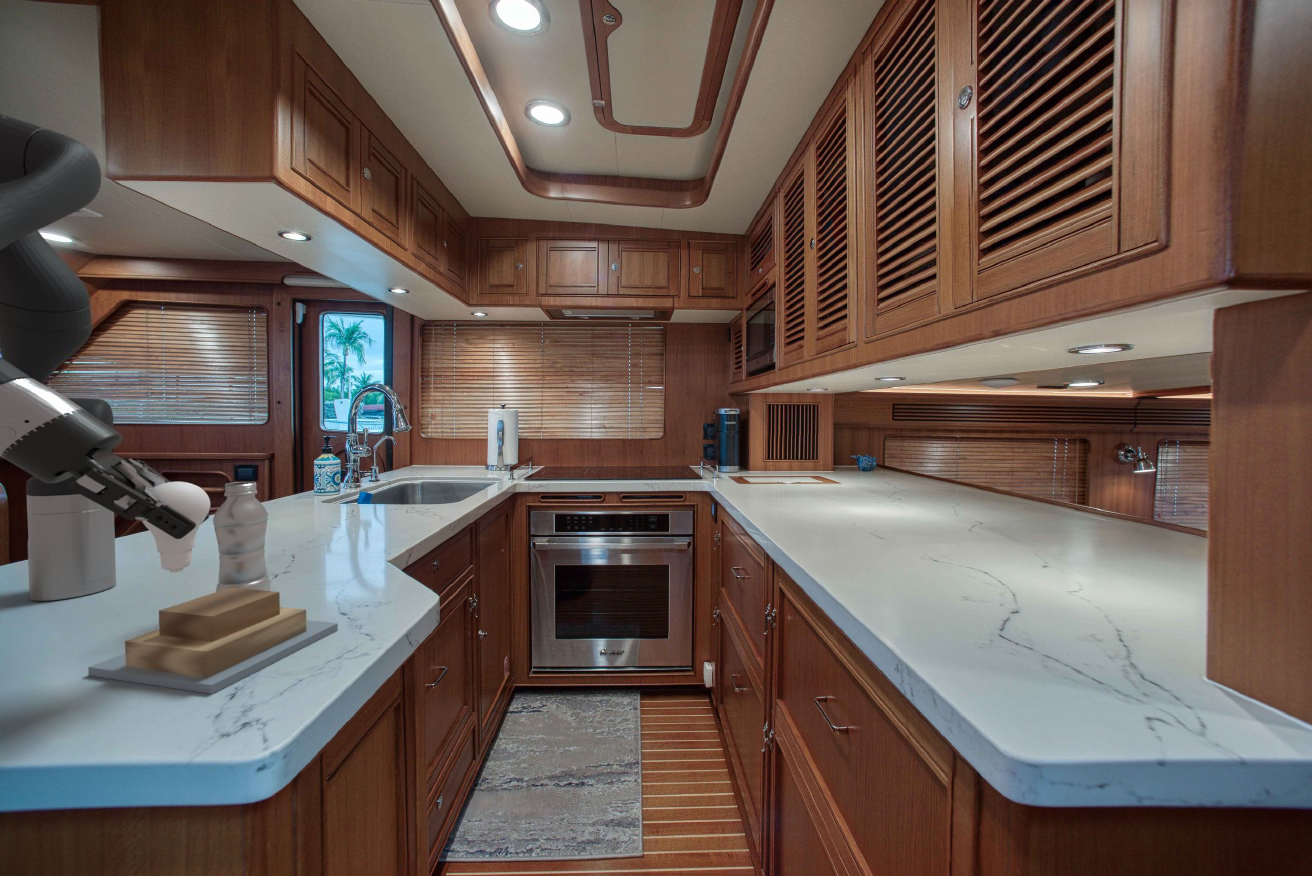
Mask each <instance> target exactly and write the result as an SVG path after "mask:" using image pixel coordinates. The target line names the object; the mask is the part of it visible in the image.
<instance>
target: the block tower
mask: <svg viewBox="0 0 1312 876" xmlns="http://www.w3.org/2000/svg"><path fill="white" fill-rule="evenodd" d="M280 601H281V600H280V591H272V590H270V591H263V590H252V589H242V588H232V587H231V588H228V589H225V590H221V591H218V592H216V591H215V592H213V593H210V594H206V595H203V596H201V597H196V598H193V599H190V600H188V601H184V602H182V603H178V604H176V605H173V606H169V607H166V608H163V609H160V610H158V626H159V627H158V629H156V630H153V631H152V630H151V631H150V632H147V633H144V634H141V635H139V636H136V637H132V638H129V639H128V640H125V641H124V648H125V649H124V650H125V652H124V654H125V658H126V666H127V667H134V668H141V669H148V670H155V671H162V672H169V673H176V674H183V675H190V676H197V677H204V678H209V677H211V676H213V675H215V674H217V673H219V672H222V671H224V670H226V669H228V668H230V667H232V666H234V665H236V664H238V663H240V662H243V661H245V660H247V659H249V658H251V657H253V656H255V655H257V654H259V653H262V652H264V651H266V650H268V649H270V648H272V647H274V646H276V645H278V644H280V643H283V642H285V641H287V640H289V639H291V638H293V637H295V636H297V635H299V634H301V633H304V632H306V631H307V627H306V620H307V609H305V608H304V609H303V608H296V607H295V608H294V607H285V606H281V604H280V603H281V602H280Z"/></svg>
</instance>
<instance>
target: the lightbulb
mask: <svg viewBox="0 0 1312 876" xmlns="http://www.w3.org/2000/svg"><path fill="white" fill-rule="evenodd" d="M152 493H153V494H154V495H155V496H157V497H158V498H159V499H161V500H162V501H163V502H164V503H165V505H164V506H163V507H165V506H166V505H167V506H169V507H170V508H172V509H173V510H175V511H177V512H179V513H181V514H182V515H184V516H185V517H187V518H189V519H190V520H192V521H193V522H195V523H196V527H195V528H194V529H193V530H192V531H191V532H189V533H188V534H187V535H186V536H184V537H183V538H181V539H175V538H174V537H172V536H170V535H169V534H167V533H165V532H164V531H162V530H160V529H159V528H157V527H155V526H154V525H152V524H151V523H149V522H147V521H146V520H148V519H146V520H145V521H141V522H142V523H143V525H144V526H145V527H146V528H147V529H148V530H149V532H150V533H151V535H152V537H153V538H154V541H155V543H156V550H157V553H159V555H160V557H159V558H160V566H161V569H162V570H164V571H165V570H166V571H169V572H170V573H178V572H182V571H183V570H184V568H187V567H189V566H190V565H191V564H192V553H193V549H194V548H195V540H196V537H197V536H196V535H197V533H198V530H199V528H200V526H201V525H202V524H203V523H204V522H205V521H204V519H205V517H206V516H207V514H209V511H210V508H211V500H210V497H209V495H208V494H207V492H206V491H205V490H204V489H203V488H201V487H200V486H198V485H195V484H194V483H190V482H187V481H186V482H185V481H171V482H168V483H164V484H161V485H158V486H156V487H154V489H153V492H152ZM203 521H204V522H203ZM202 522H203V523H202ZM201 523H202V524H201Z"/></svg>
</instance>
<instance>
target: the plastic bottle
mask: <svg viewBox="0 0 1312 876" xmlns="http://www.w3.org/2000/svg"><path fill="white" fill-rule="evenodd" d="M224 491H225V492H224V493H223V494H224V495H223V497H226V500H225V501H224V502H223V503H222V504H221V505H220V506H219V508H218V509H217V510H216V511H215V513H214V516H213V518H212V521H213V523H212V524H213V526H214V528H213V529H214V532H215V536H216V542H217V547H218V553H219V556H218V557H219V558H218V559H219V566H218V567H219V569H218V579H217V580H218V583H217V584H216V588H215V592H218V591H221V590H225V589H228V588H231V587H232V588H242V589H252V590H263V591H272V590H271V583H270V579H269V575H268V570H267V564H266V557H265V556H266V555H265V552H266V551H265V546H266V533H267V528H268V527H267V525H268V520H269V513H268V511H267V508H266V507H265V506H264V505H263V503H262V502H261V501H259V499H257V498H256V495H257V494H258V490H257V482H256V481H239V482H236V481H235V482H229V483H225V485H224Z"/></svg>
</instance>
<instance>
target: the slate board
mask: <svg viewBox="0 0 1312 876" xmlns="http://www.w3.org/2000/svg"><path fill="white" fill-rule="evenodd" d="M338 625H339V624H338V622H330V621H329V622H328V621H320V620H311V619H306V627H307V631H306V632H304V633H301V634H299V635H297V636H295V637H293V638H291V639H289V640H287V641H285V642H283V643H280V644H278V645H276V646H274V647H272V648H270V649H268V650H266V651H264V652H262V653H259V654H257V655H255V656H253V657H251V658H249V659H247V660H245V661H243V662H240V663H238V664H236V665H234V666H232V667H230V668H228V669H226V670H224V671H222V672H219V673H217V674H215V675H213V676H211V677H209V678H204V677H197V676H190V675H183V674H176V673H169V672H162V671H155V670H148V669H141V668H134V667H127V666H126V658H125V653H122V654H120V655H118V656H114V657H112V658H108V659H106V660H104V661H103V660H102V661H100V662H98V663H95V664H93V665H90V666H88V668H87V669H88V670H87V671H88V676H89V677H97V678H104V679H112V680H116V681H122V682H129V681H130V682H131V683H136V684H142V683H143V684H142V685H151V686H157V687H162V688H170V689H176V690H184V691H188V692H189V691H191V692H197V693H203V694H209V695H214V694H215V693H218V692H219V691H221V690H223V689H225V688H227V687H229V686H230V685H232V684H235V683H237V682H239V681H240V680H242V679H244V678H247V677H249V676H250V675H253V674H255V673H256V672H259V671H260V670H262V669H264V668H266V667H269V666H270V665H272V664H274V663H276V662H278V661H279V660H282V659H284V658H286V657H287V656H290V655H292V654H294V653H295V652H297V651H300V650H302V649H304V648H305V647H307V646H310V645H311V644H313V643H315V642H317V641H319V640H322V639H323V638H325V637H328V636H329V635H331V634H333V633H335V632H336V631H337V632H338V630H339V629H338V628H339V626H338Z"/></svg>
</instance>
